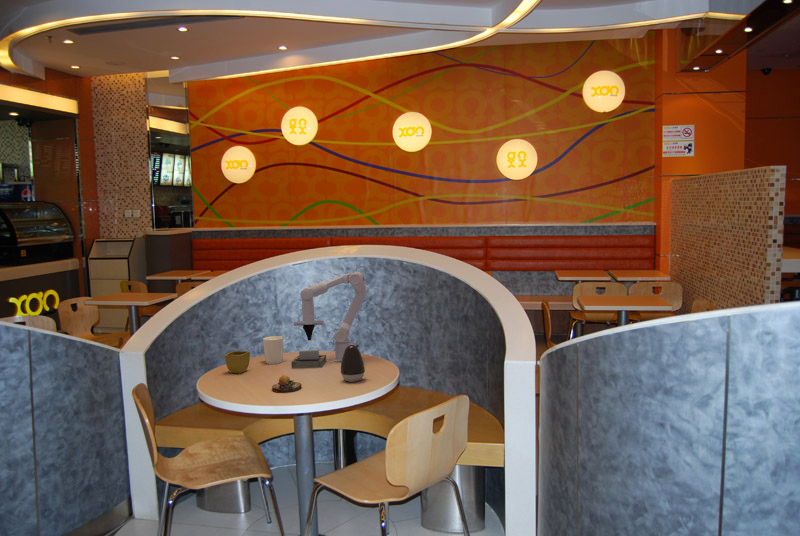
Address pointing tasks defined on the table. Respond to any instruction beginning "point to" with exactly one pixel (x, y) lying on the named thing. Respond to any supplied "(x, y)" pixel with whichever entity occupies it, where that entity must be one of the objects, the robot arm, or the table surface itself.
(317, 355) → the panel
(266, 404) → the table surface
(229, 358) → the flower pot
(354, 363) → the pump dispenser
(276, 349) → the candle holder
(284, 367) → the table surface
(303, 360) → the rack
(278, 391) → the plate of food
